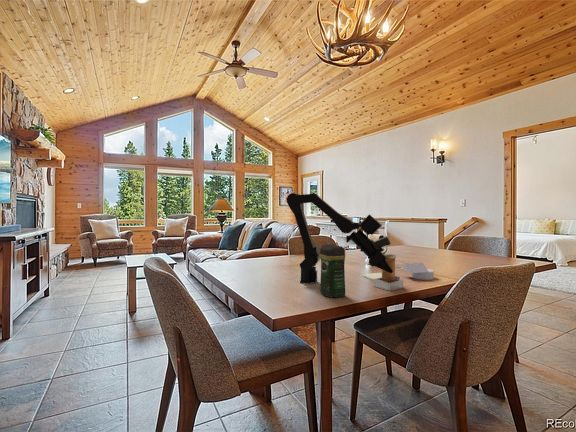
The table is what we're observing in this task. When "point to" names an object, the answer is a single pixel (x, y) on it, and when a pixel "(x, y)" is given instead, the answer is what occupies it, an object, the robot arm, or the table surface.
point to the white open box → (389, 284)
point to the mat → (372, 276)
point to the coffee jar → (332, 271)
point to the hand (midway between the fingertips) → (391, 271)
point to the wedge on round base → (419, 271)
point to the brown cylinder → (391, 262)
